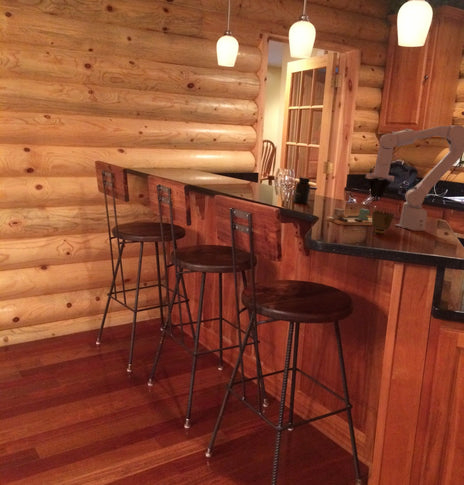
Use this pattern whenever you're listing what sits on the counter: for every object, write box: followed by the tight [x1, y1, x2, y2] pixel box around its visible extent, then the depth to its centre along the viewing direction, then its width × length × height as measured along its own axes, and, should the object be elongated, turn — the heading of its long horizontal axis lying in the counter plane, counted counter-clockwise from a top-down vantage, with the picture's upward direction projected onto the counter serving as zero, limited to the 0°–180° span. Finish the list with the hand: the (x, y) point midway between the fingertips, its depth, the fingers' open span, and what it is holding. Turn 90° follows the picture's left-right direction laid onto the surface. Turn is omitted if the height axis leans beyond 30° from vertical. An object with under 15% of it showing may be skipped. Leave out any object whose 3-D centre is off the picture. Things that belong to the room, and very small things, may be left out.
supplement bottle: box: [293, 176, 312, 205], centre depth 244 cm, size 7×7×12 cm
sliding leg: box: [358, 208, 373, 220], centre depth 208 cm, size 6×2×4 cm, turn 32°
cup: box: [371, 210, 395, 236], centre depth 188 cm, size 8×7×8 cm
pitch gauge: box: [324, 207, 373, 226], centre depth 207 cm, size 10×24×5 cm, turn 122°
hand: (376, 197), depth 211 cm, fingers open, 3 cm apart
